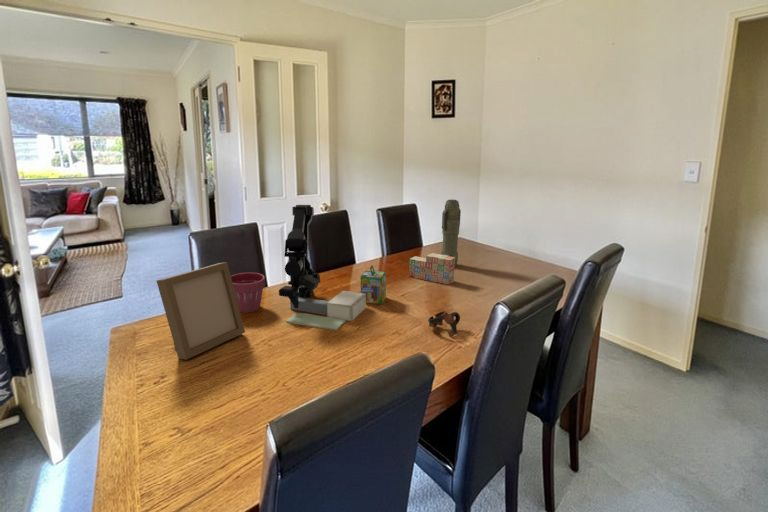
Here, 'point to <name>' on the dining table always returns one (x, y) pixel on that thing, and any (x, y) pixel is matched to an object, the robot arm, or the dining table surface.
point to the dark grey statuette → (451, 228)
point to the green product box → (374, 286)
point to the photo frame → (201, 309)
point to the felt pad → (316, 321)
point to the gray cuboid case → (346, 305)
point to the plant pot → (248, 290)
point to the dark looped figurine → (449, 320)
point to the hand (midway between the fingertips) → (299, 306)
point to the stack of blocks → (433, 268)
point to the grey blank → (311, 305)
